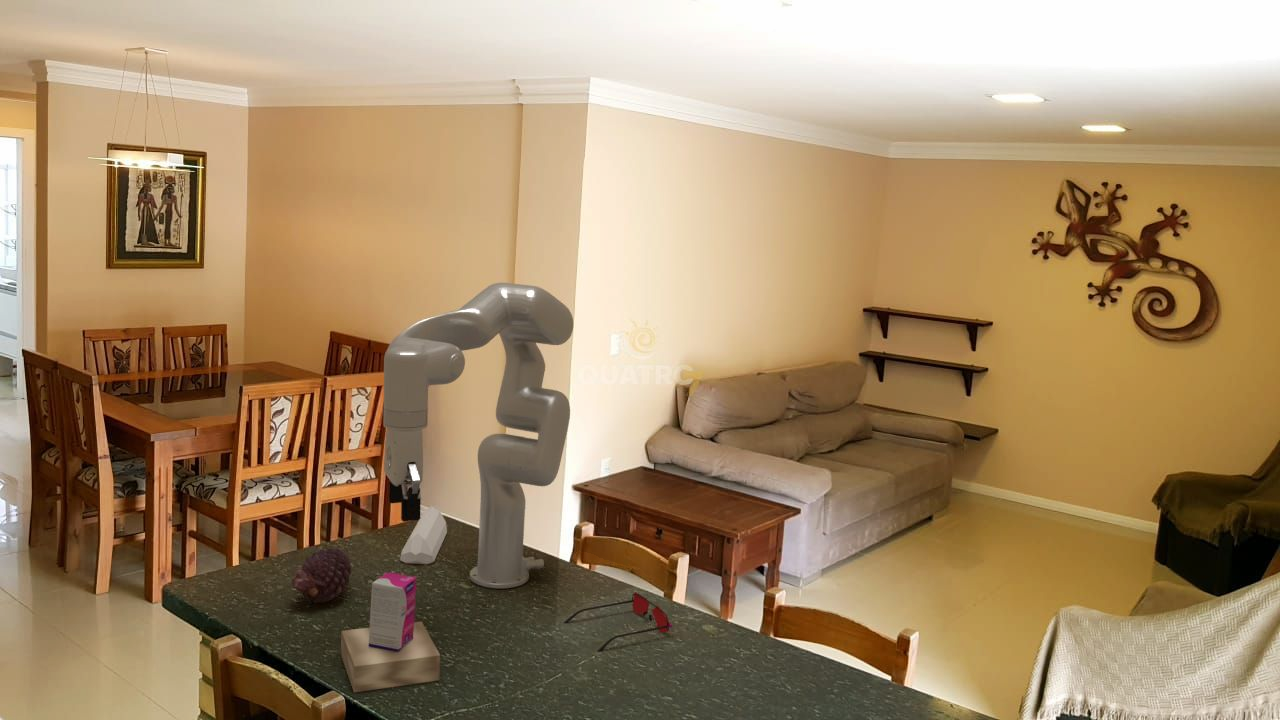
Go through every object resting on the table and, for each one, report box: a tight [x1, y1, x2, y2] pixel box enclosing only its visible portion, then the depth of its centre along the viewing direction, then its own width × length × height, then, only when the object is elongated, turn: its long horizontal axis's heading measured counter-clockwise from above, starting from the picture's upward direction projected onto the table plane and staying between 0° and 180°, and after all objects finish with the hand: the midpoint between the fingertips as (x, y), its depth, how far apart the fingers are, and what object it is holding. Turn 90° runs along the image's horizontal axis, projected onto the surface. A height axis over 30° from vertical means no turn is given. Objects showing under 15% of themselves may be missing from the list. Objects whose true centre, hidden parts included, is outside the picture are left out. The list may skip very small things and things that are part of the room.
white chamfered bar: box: [399, 505, 448, 565], centre depth 229 cm, size 7×7×24 cm
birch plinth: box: [340, 621, 441, 693], centre depth 171 cm, size 14×14×4 cm
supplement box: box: [368, 571, 418, 652], centre depth 170 cm, size 6×6×12 cm
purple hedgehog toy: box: [291, 547, 352, 604], centre depth 197 cm, size 18×10×10 cm, turn 169°
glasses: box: [563, 591, 674, 653], centre depth 192 cm, size 14×16×5 cm
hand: (404, 510), depth 177 cm, fingers open, 9 cm apart
